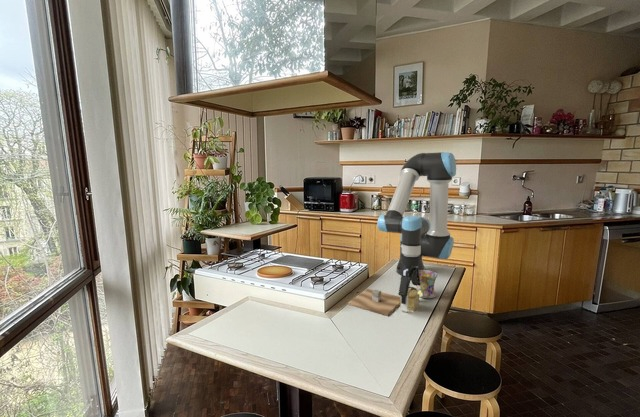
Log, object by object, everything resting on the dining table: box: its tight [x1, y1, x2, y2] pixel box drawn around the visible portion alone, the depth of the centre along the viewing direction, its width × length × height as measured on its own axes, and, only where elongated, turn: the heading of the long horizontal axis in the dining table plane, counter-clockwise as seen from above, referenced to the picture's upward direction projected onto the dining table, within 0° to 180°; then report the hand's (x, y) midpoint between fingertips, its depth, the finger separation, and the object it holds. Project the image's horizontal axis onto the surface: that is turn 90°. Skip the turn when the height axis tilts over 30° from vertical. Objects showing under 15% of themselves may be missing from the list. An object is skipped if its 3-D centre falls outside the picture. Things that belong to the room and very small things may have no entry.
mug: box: [417, 269, 438, 299], centre depth 139 cm, size 12×9×11 cm
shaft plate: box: [347, 288, 400, 317], centre depth 132 cm, size 18×18×5 cm
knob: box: [399, 286, 420, 312], centre depth 128 cm, size 6×6×8 cm
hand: (409, 305), depth 128 cm, fingers open, 11 cm apart
